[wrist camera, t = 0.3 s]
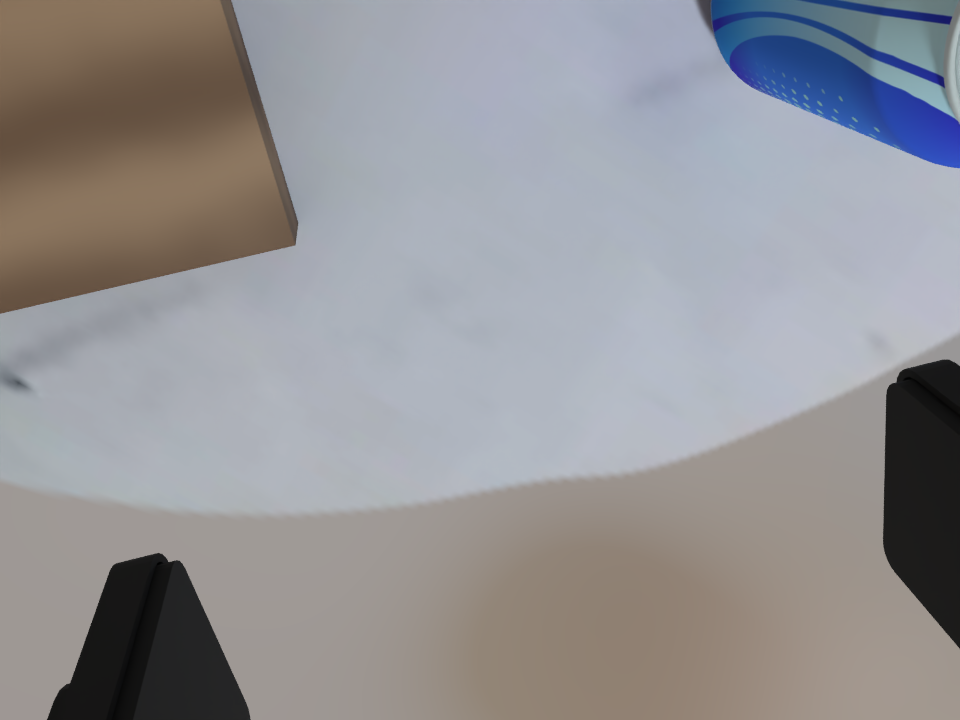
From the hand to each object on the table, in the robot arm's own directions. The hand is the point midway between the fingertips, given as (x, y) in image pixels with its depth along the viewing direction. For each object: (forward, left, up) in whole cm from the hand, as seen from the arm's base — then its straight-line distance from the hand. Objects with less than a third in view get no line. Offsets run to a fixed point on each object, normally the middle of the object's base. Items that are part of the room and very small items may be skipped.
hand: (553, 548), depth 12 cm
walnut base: (-3, -13, -30) cm, 32 cm away
